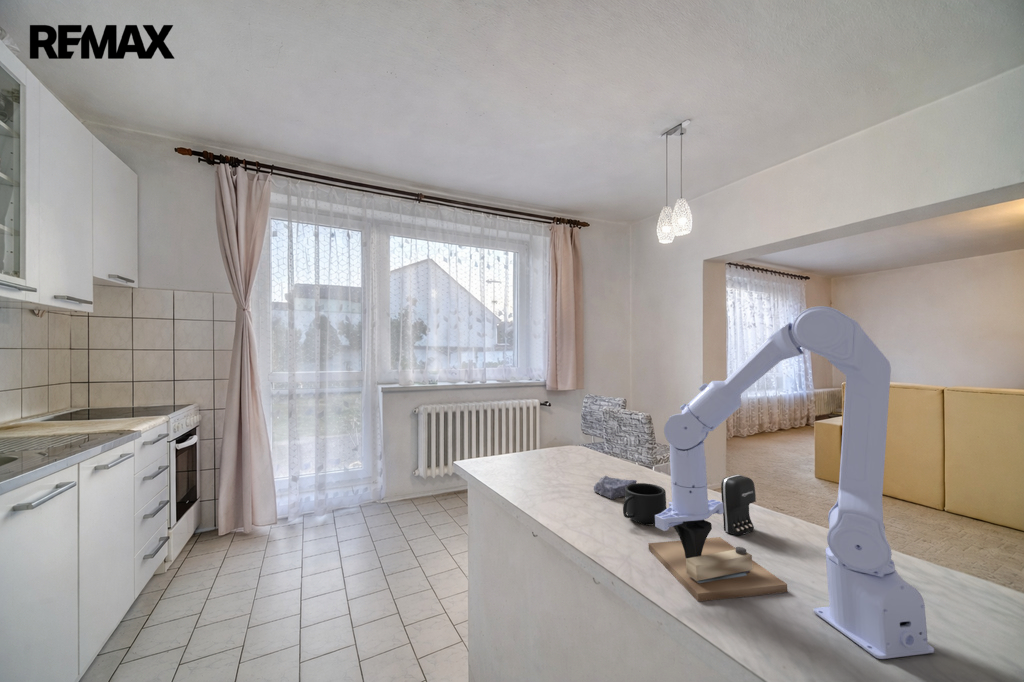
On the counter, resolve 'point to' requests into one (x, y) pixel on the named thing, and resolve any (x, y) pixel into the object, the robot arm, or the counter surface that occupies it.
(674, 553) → the board
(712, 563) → the leg
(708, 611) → the counter surface
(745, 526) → the battery charger
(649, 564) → the counter surface
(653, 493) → the mug
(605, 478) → the rock
